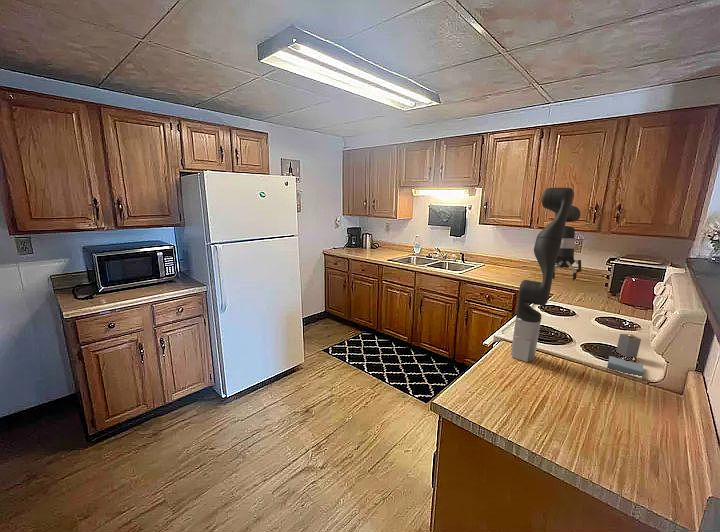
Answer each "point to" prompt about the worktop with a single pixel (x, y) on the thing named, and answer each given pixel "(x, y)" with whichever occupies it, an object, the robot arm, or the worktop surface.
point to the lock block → (628, 345)
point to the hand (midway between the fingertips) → (563, 279)
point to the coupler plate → (625, 366)
